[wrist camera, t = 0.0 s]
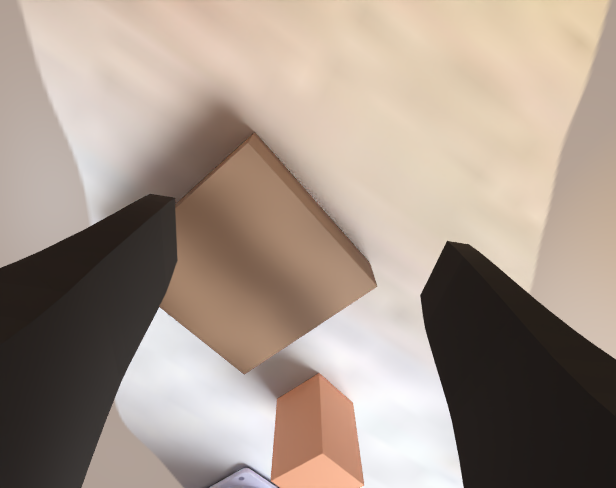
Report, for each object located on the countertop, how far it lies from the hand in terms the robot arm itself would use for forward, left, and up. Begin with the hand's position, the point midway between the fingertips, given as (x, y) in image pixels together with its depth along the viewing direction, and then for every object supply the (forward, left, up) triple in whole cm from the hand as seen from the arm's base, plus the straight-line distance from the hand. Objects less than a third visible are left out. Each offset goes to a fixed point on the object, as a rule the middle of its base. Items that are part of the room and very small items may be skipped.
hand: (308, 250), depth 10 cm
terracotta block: (-11, -14, -11) cm, 21 cm away
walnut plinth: (-6, -2, -11) cm, 12 cm away
